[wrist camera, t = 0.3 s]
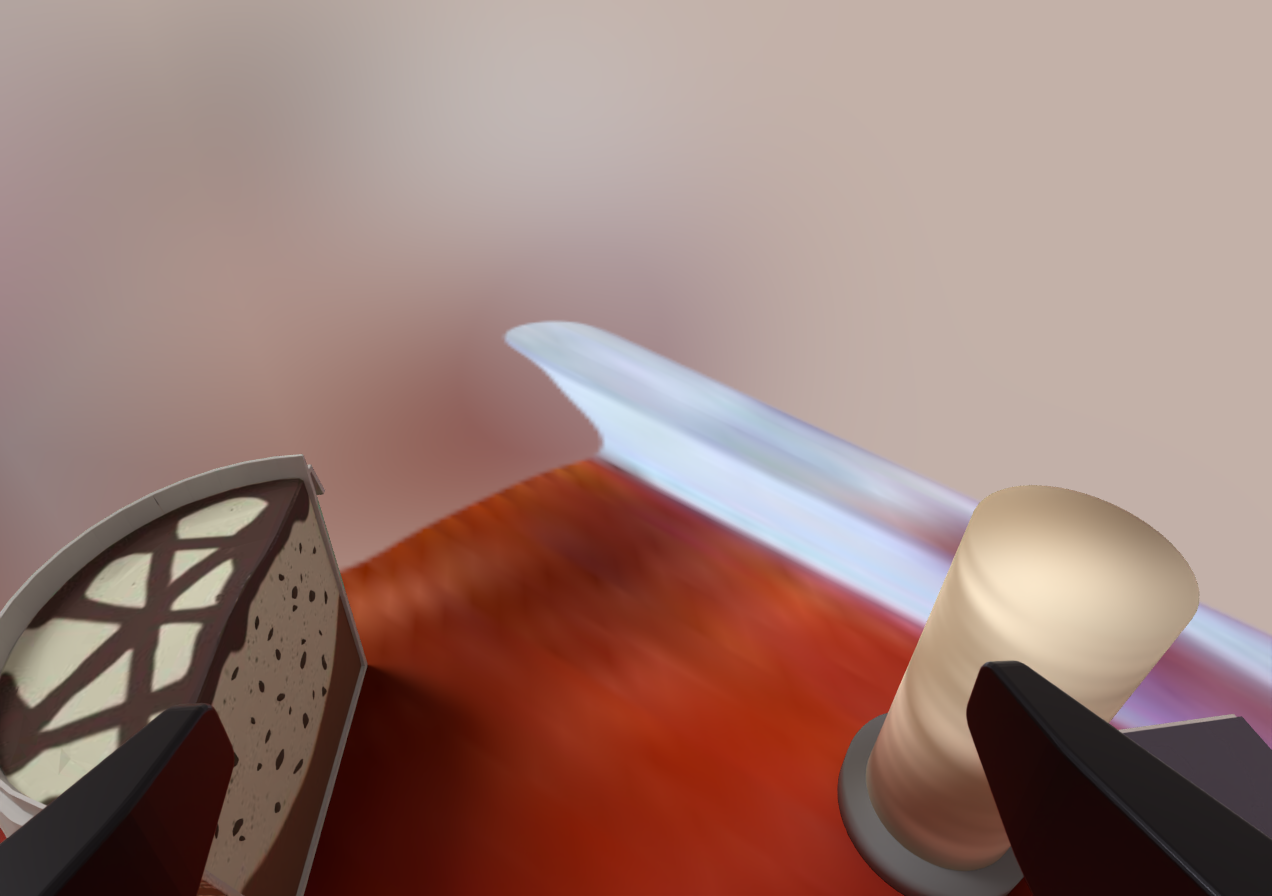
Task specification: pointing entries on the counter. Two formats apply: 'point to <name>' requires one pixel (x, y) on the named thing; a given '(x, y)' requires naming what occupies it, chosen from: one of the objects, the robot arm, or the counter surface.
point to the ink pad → (1217, 762)
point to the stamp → (1001, 631)
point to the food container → (193, 659)
